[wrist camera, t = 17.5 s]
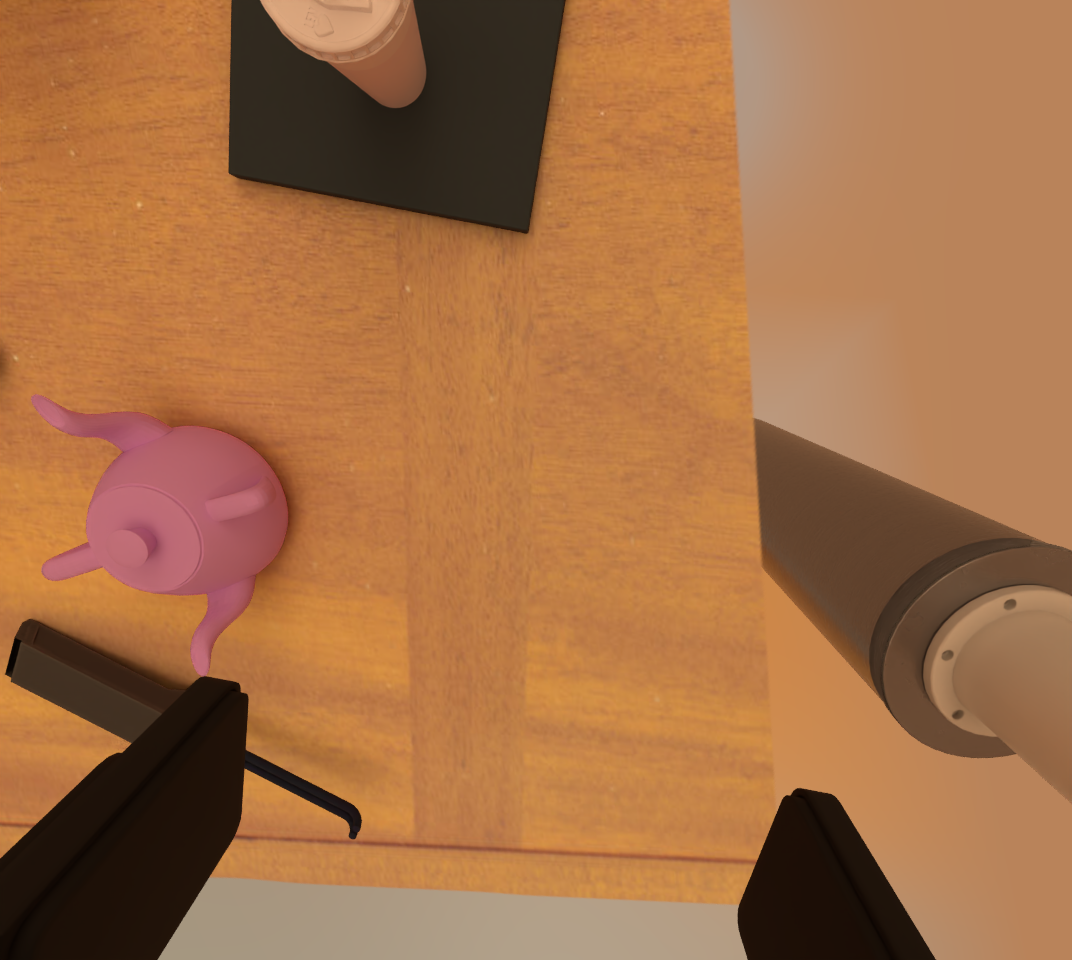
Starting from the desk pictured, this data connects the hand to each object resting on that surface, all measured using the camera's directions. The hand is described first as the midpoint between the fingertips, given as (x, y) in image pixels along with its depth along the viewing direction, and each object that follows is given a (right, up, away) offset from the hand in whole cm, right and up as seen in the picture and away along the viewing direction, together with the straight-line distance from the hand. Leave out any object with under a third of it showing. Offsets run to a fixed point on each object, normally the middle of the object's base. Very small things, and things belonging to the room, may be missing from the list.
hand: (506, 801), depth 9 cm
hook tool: (-26, -13, +34) cm, 46 cm away
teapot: (-22, +4, +29) cm, 37 cm away
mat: (-8, +29, +22) cm, 37 cm away
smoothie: (-7, +29, +21) cm, 36 cm away
